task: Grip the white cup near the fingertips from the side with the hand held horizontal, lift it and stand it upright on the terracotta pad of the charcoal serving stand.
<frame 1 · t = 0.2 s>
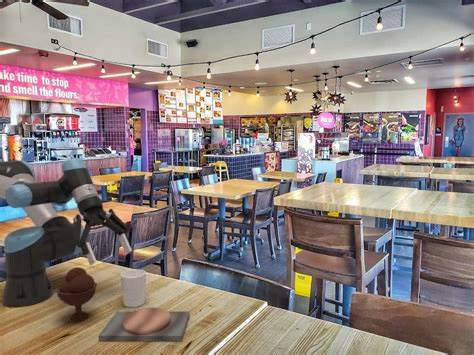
hand: (111, 257, 120), 15 cm above the table, tool tilted 35°, fingers open, 13 cm apart
white cup: (134, 303, 122), on the table
ice cream bowl: (79, 318, 112), on the table
serving stand: (147, 327, 105), on the table
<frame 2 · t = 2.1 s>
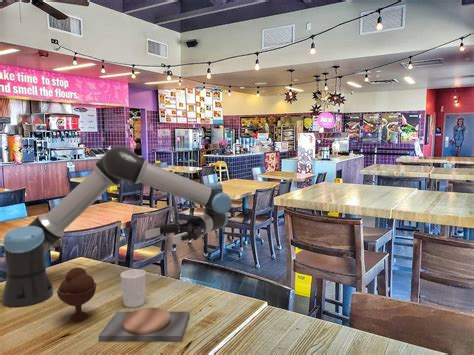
hand: (159, 237, 129), 19 cm above the table, tool horizontal, fingers open, 13 cm apart
nothing on the table moved.
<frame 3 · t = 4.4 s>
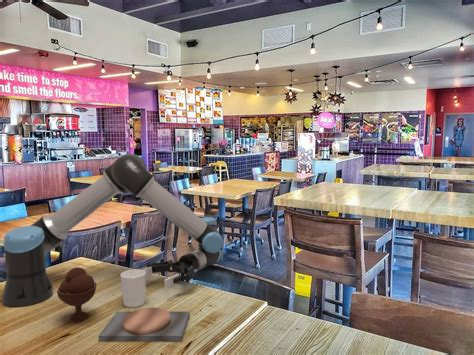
hand: (150, 279, 126), 6 cm above the table, tool horizontal, fingers open, 13 cm apart
nothing on the table moved.
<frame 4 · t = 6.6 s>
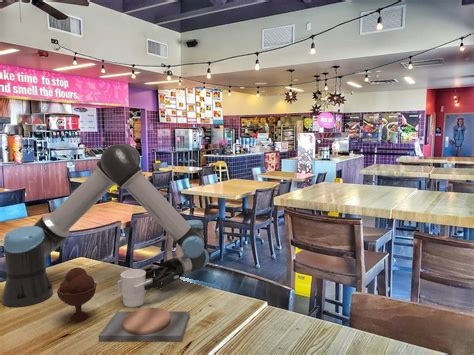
hand: (126, 288, 119), 6 cm above the table, tool horizontal, fingers closed on white cup, 7 cm apart
white cup: (134, 303, 122), on the table, touching gripper
everything else where it was.
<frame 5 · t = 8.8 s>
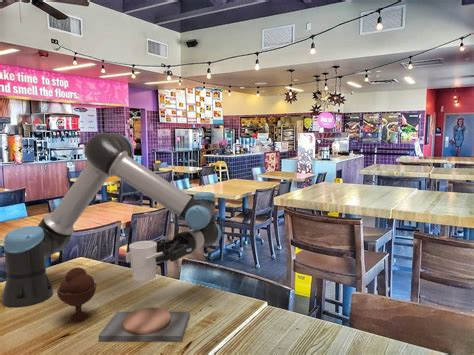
hand: (136, 260, 108), 18 cm above the table, tool horizontal, fingers closed on white cup, 7 cm apart
white cup: (144, 277, 111), point 12 cm above the table, touching gripper
everything else where it was.
when the fingers open (9 cm above the table, at t = 11.5 s): white cup moves 2 cm, resting on serving stand.
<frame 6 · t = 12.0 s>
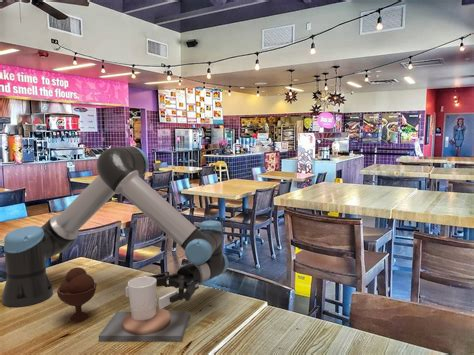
hand: (142, 297, 103), 9 cm above the table, tool horizontal, fingers open, 13 cm apart
white cup: (144, 315, 106), point 3 cm above the table, touching serving stand
everything else where it was.
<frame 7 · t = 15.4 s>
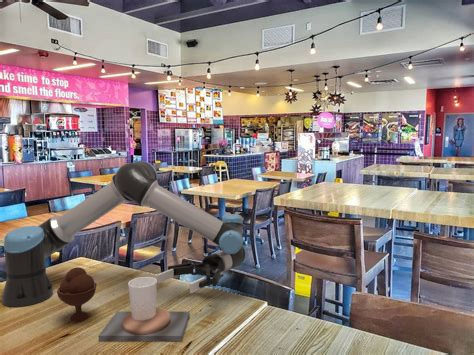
hand: (173, 283, 113), 9 cm above the table, tool horizontal, fingers open, 13 cm apart
nothing on the table moved.
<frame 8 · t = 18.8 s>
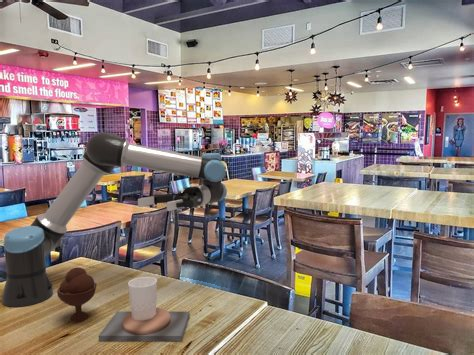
hand: (152, 204, 121), 32 cm above the table, tool horizontal, fingers open, 13 cm apart
nothing on the table moved.
at the end: white cup inside the target area on the serving stand (1.8 cm from its centre), point 2.8 cm above the serving stand's base; white cup tilted 0°; the gripper is holding nothing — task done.
